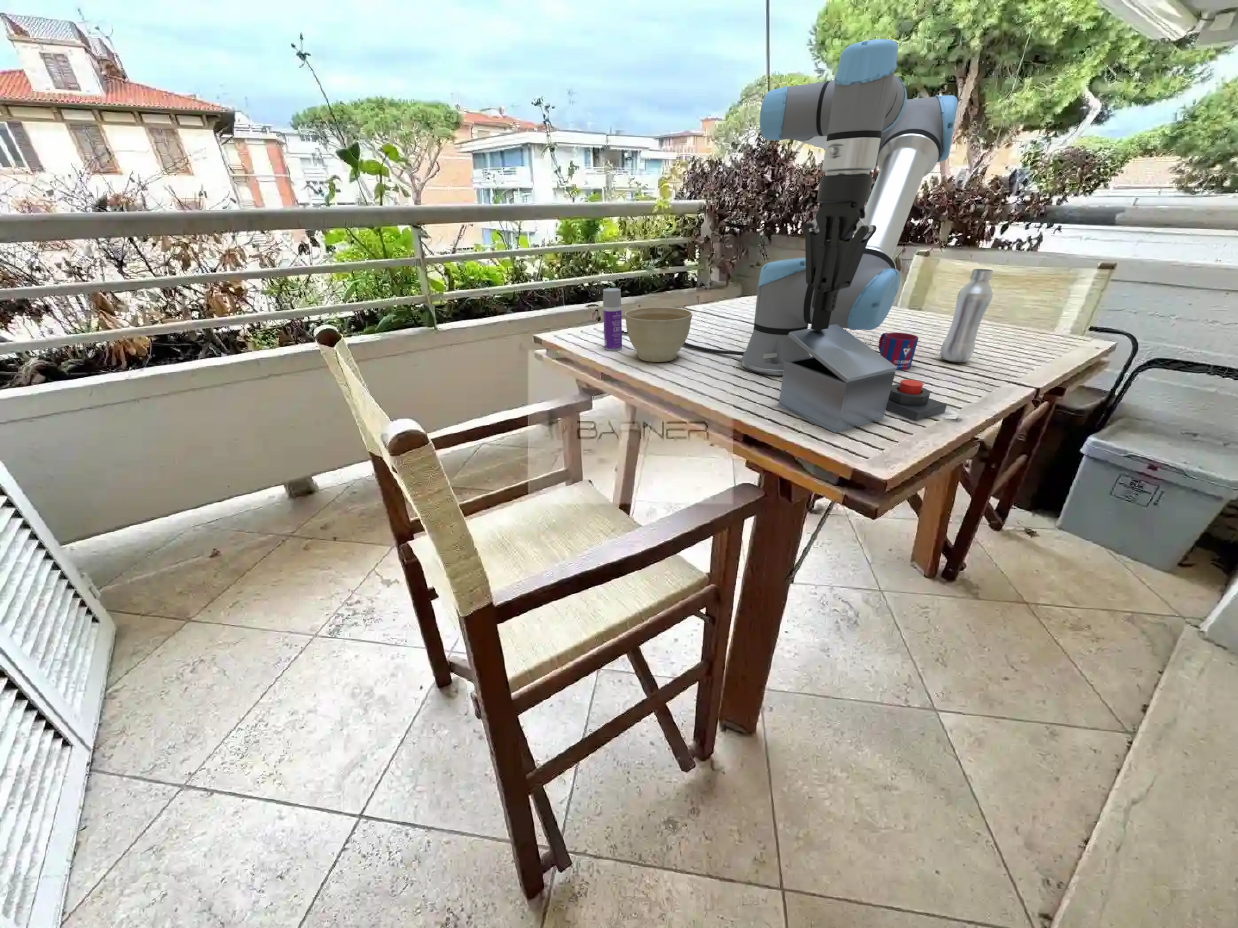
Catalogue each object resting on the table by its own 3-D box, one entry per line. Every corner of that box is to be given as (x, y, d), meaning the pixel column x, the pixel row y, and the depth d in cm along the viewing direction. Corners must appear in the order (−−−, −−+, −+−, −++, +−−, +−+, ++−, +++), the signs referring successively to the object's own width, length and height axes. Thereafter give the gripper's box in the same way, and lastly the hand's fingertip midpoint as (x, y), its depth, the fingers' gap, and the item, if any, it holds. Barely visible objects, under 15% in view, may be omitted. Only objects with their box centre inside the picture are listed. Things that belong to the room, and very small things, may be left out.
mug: (886, 370, 108) (894, 340, 105) (866, 357, 117) (872, 329, 113) (916, 370, 108) (925, 339, 105) (893, 357, 117) (900, 328, 113)
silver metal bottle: (960, 357, 116) (990, 267, 106) (975, 365, 110) (1008, 272, 100) (932, 356, 116) (958, 268, 107) (945, 365, 110) (975, 272, 101)
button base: (866, 403, 92) (870, 385, 90) (894, 395, 95) (899, 378, 93) (915, 421, 84) (921, 403, 82) (944, 412, 87) (950, 394, 85)
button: (893, 390, 89) (896, 381, 88) (906, 387, 90) (909, 378, 89) (911, 396, 86) (914, 387, 85) (924, 393, 87) (927, 383, 86)
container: (615, 351, 126) (614, 291, 119) (601, 349, 128) (598, 290, 121) (625, 347, 129) (624, 288, 122) (610, 345, 132) (609, 287, 124)
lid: (787, 336, 85) (789, 331, 84) (835, 327, 89) (836, 323, 89) (845, 383, 76) (848, 378, 76) (895, 371, 81) (897, 367, 80)
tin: (777, 406, 91) (784, 361, 87) (822, 395, 96) (831, 352, 91) (835, 433, 80) (846, 383, 76) (882, 420, 85) (895, 371, 81)
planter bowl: (703, 358, 119) (706, 313, 114) (652, 371, 111) (653, 323, 106) (661, 345, 131) (662, 303, 125) (612, 356, 123) (611, 312, 117)
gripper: (797, 176, 78) (777, 324, 89) (866, 171, 67) (833, 339, 79) (830, 175, 81) (807, 319, 92) (901, 171, 70) (865, 333, 82)
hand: (819, 328), depth 85 cm, fingers closed
